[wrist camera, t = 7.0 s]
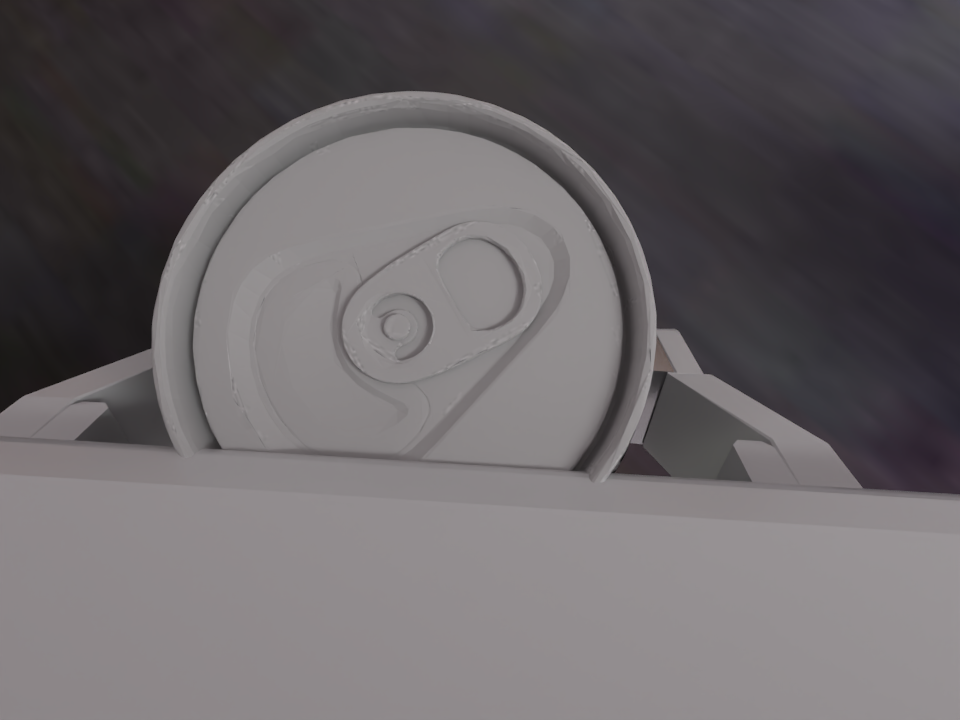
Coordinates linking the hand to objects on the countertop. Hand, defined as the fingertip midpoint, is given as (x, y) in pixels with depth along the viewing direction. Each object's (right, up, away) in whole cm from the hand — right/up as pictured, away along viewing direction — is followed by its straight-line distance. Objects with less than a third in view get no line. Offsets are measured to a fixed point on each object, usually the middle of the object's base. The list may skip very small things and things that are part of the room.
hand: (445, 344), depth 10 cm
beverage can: (0, -2, +7) cm, 7 cm away
